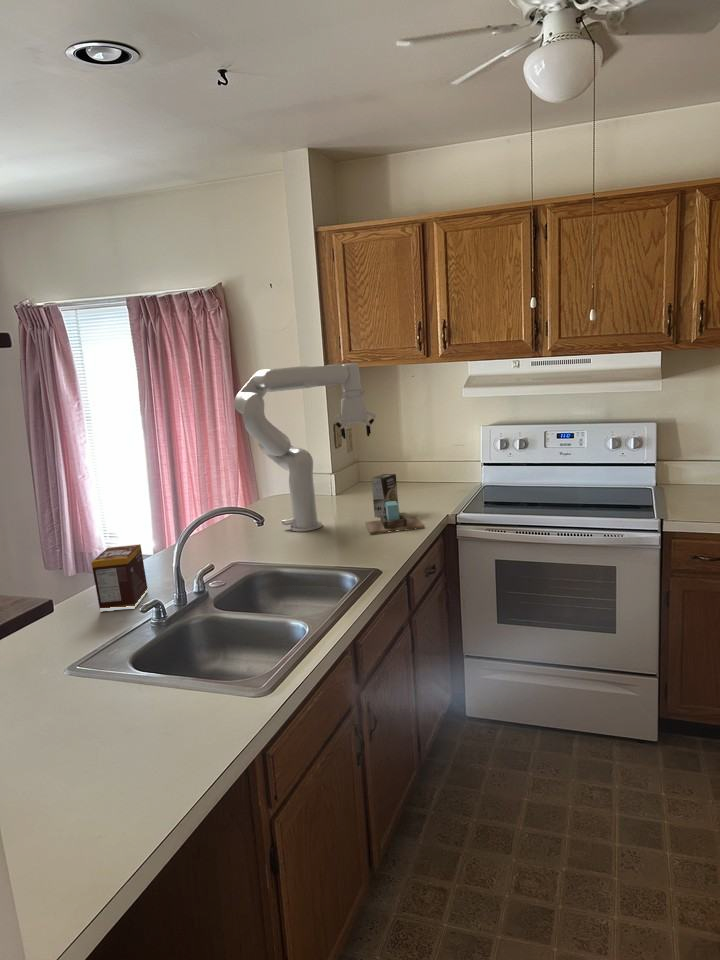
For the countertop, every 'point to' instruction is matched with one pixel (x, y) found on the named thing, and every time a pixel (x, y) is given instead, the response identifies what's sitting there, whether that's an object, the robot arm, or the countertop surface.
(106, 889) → the countertop surface
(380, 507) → the coffee box
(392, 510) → the keyed block
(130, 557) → the supplement box
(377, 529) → the keyed holder
